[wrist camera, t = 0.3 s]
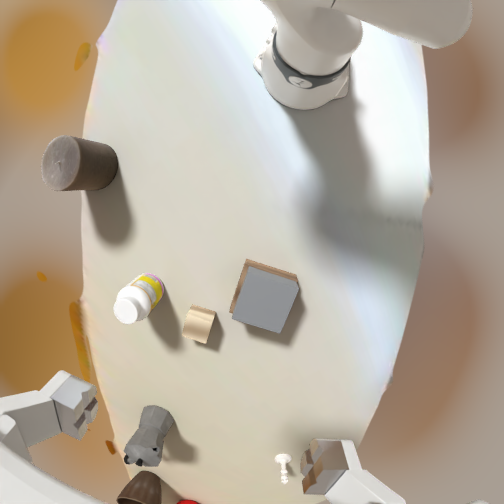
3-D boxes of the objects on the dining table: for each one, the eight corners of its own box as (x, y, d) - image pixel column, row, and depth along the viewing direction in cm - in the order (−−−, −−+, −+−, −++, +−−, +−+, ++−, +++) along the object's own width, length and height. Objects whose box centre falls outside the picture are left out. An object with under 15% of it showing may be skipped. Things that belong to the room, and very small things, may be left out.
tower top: (249, 265, 52) (248, 272, 48) (296, 281, 53) (299, 288, 49) (233, 309, 54) (231, 318, 50) (278, 323, 54) (280, 333, 51)
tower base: (246, 258, 56) (245, 263, 52) (295, 274, 56) (298, 280, 52) (231, 304, 58) (229, 312, 54) (278, 318, 59) (279, 327, 55)
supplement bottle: (142, 305, 58) (117, 332, 46) (131, 276, 57) (102, 298, 44) (169, 297, 58) (148, 325, 45) (158, 268, 56) (133, 289, 44)
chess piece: (291, 461, 69) (294, 486, 59) (275, 463, 69) (276, 488, 59) (291, 452, 68) (293, 478, 58) (274, 454, 68) (275, 480, 58)
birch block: (192, 304, 58) (187, 314, 53) (215, 311, 58) (212, 322, 53) (187, 324, 59) (181, 335, 54) (209, 331, 59) (205, 343, 54)
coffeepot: (159, 396, 64) (137, 446, 46) (186, 418, 65) (171, 469, 48) (127, 416, 66) (105, 460, 49) (152, 436, 68) (135, 481, 50)
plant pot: (126, 474, 74) (113, 504, 59) (133, 459, 71) (119, 493, 56) (163, 490, 76) (154, 521, 60) (174, 476, 73) (165, 511, 57)
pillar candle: (126, 166, 52) (86, 161, 37) (95, 199, 53) (51, 204, 39) (102, 134, 51) (60, 121, 36) (73, 166, 52) (28, 163, 37)
